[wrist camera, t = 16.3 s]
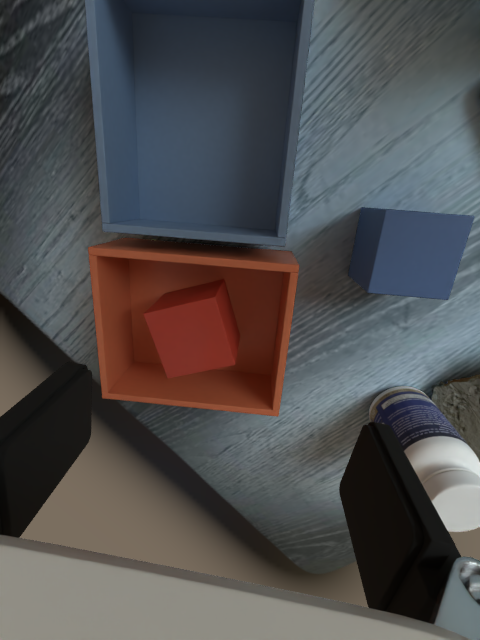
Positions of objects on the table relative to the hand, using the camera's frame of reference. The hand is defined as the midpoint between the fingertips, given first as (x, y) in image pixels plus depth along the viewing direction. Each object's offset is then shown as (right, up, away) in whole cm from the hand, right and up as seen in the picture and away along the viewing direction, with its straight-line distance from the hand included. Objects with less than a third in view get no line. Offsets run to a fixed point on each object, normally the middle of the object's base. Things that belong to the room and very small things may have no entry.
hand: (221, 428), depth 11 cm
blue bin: (-1, +16, +11) cm, 20 cm away
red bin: (-2, +4, +16) cm, 16 cm away
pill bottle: (+15, -4, +18) cm, 23 cm away
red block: (-2, +4, +15) cm, 16 cm away
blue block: (+12, +9, +13) cm, 20 cm away
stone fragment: (+18, -5, +18) cm, 26 cm away
